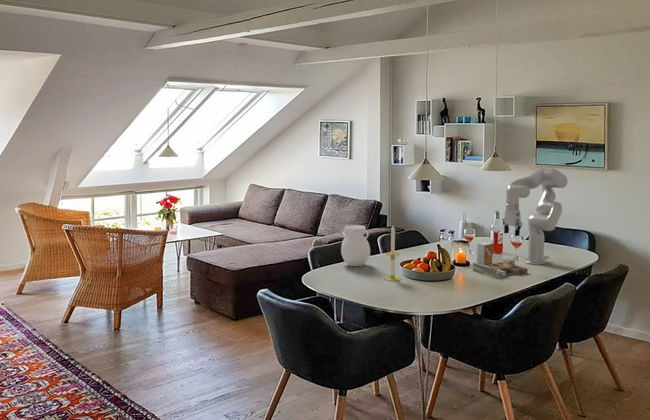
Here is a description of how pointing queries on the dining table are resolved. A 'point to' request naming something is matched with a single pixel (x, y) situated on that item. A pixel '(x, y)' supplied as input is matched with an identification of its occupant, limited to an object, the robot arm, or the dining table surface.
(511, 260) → the maple cube
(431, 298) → the dining table surface
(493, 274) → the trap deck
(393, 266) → the candle
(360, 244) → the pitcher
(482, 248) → the small box
